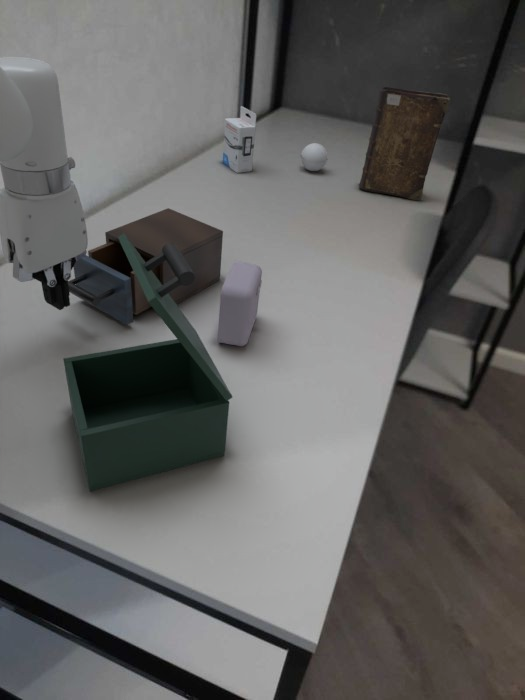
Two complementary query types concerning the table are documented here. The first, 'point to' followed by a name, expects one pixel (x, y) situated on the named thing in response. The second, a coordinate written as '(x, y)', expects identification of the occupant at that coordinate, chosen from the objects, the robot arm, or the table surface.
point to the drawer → (110, 282)
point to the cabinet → (190, 238)
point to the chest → (143, 412)
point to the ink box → (239, 141)
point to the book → (402, 141)
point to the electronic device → (239, 303)
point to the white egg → (314, 157)
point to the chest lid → (173, 303)
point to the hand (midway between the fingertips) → (58, 304)
